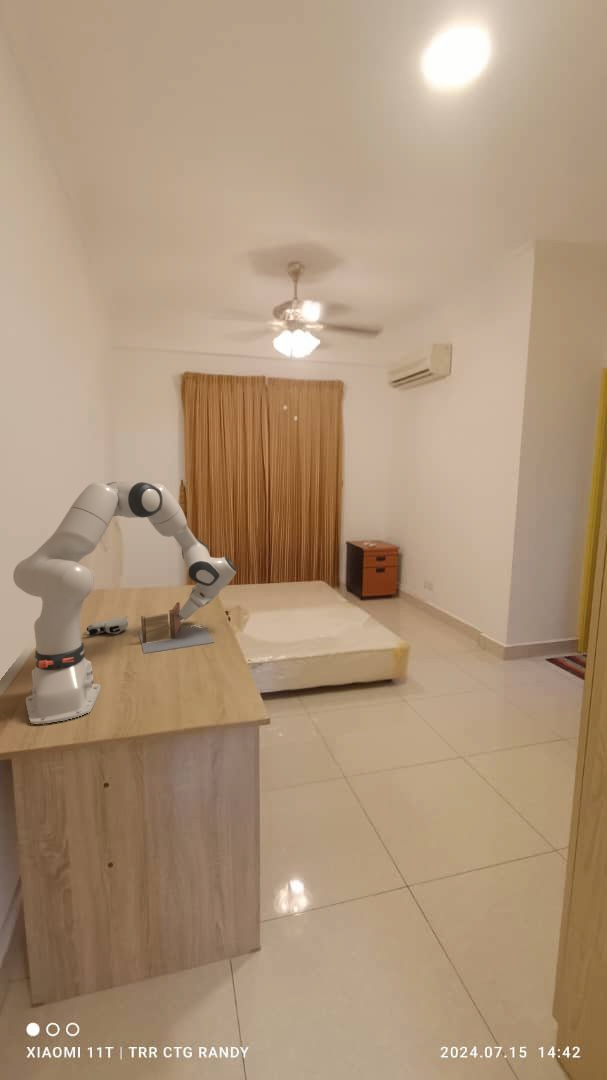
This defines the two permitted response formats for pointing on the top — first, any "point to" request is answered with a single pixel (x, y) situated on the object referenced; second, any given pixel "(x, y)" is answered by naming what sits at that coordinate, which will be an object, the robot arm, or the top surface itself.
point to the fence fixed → (157, 627)
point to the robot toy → (108, 626)
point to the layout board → (179, 639)
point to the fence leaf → (176, 617)
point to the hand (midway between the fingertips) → (180, 617)
